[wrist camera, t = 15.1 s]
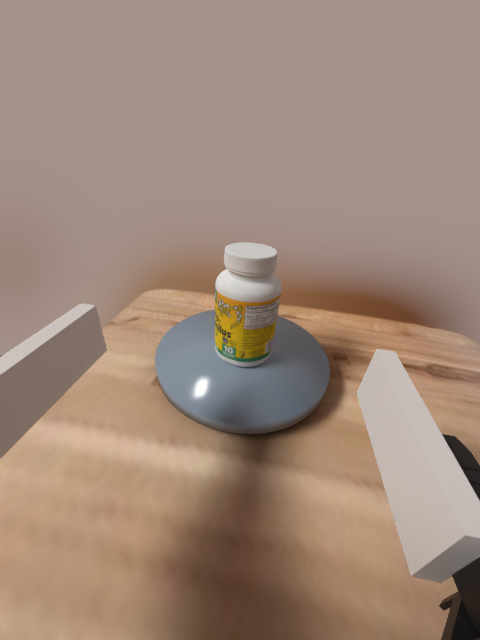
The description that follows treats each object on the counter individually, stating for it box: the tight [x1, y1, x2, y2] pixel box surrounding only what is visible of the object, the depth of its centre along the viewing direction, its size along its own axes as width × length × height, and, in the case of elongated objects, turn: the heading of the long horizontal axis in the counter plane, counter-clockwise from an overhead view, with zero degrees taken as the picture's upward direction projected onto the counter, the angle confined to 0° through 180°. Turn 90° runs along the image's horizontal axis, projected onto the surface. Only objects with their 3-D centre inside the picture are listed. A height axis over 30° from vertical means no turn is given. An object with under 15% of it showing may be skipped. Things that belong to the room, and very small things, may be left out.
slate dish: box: [155, 310, 330, 434], centre depth 25 cm, size 16×16×2 cm
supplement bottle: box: [215, 243, 281, 367], centre depth 22 cm, size 5×5×10 cm
